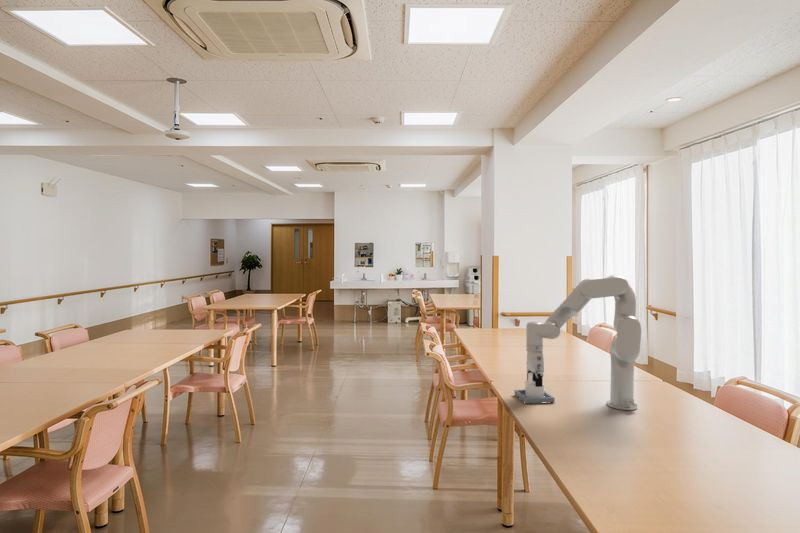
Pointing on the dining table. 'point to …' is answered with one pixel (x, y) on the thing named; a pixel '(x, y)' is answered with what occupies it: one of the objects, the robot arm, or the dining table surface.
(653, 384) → the dining table surface
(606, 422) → the dining table surface
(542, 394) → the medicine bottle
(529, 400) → the tray
